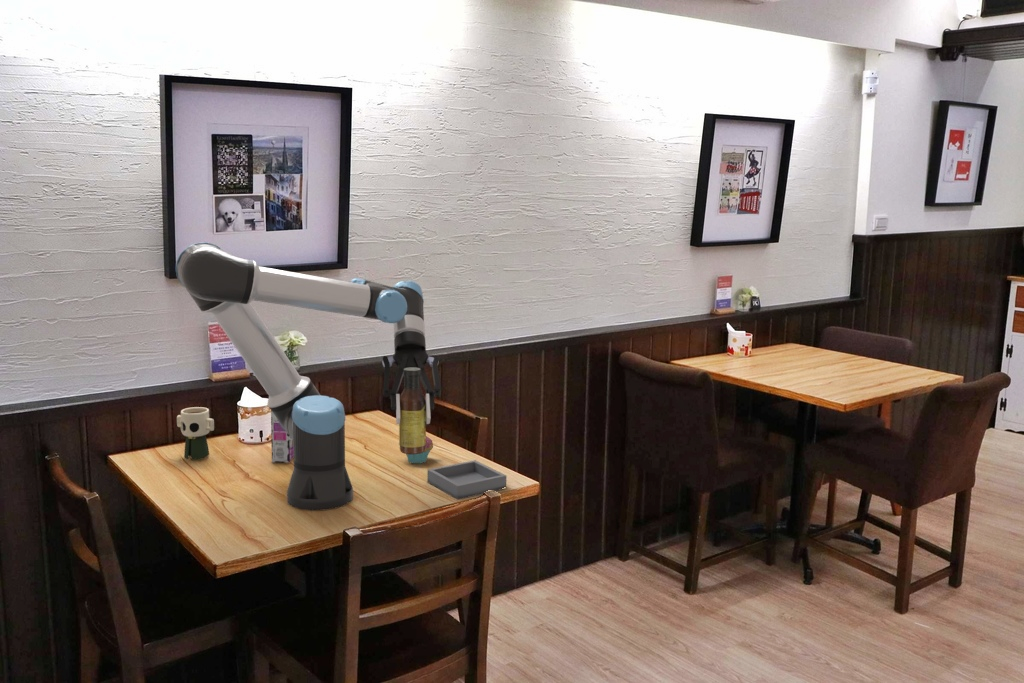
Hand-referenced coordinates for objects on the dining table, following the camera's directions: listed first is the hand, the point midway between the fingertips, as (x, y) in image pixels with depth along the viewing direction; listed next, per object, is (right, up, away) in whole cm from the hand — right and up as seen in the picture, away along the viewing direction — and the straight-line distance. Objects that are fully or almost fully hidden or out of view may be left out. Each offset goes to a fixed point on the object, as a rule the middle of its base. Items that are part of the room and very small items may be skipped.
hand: (413, 420), depth 211 cm
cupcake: (-3, -14, +33) cm, 35 cm away
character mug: (-60, -13, +31) cm, 69 cm away
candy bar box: (-38, -13, +33) cm, 52 cm away
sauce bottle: (-1, -8, +5) cm, 9 cm away
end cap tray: (+11, -17, +15) cm, 25 cm away
